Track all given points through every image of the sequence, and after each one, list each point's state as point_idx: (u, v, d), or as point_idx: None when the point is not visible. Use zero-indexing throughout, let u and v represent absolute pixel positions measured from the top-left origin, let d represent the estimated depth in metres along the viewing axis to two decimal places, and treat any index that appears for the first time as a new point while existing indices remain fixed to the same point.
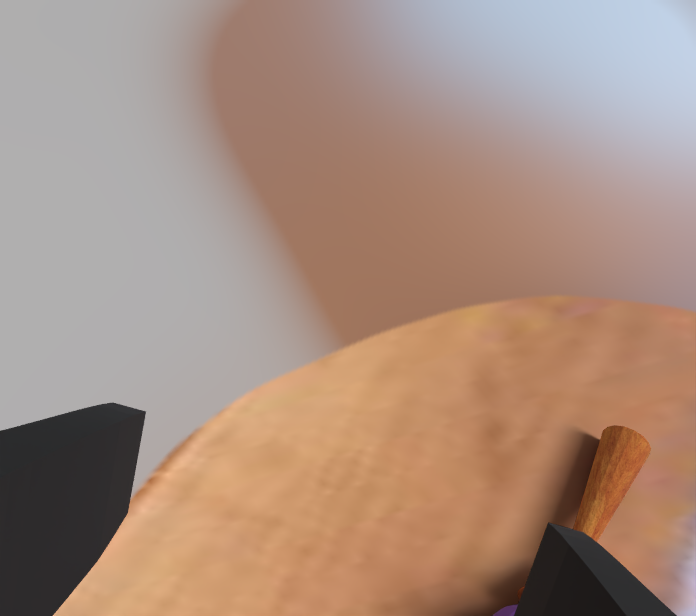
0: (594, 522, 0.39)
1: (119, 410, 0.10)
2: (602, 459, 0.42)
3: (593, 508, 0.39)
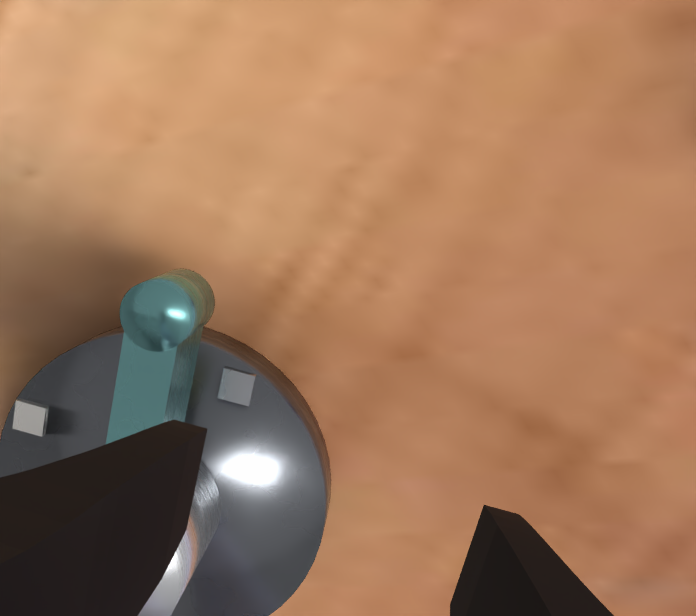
0: None
1: (184, 428, 0.10)
2: None
3: None
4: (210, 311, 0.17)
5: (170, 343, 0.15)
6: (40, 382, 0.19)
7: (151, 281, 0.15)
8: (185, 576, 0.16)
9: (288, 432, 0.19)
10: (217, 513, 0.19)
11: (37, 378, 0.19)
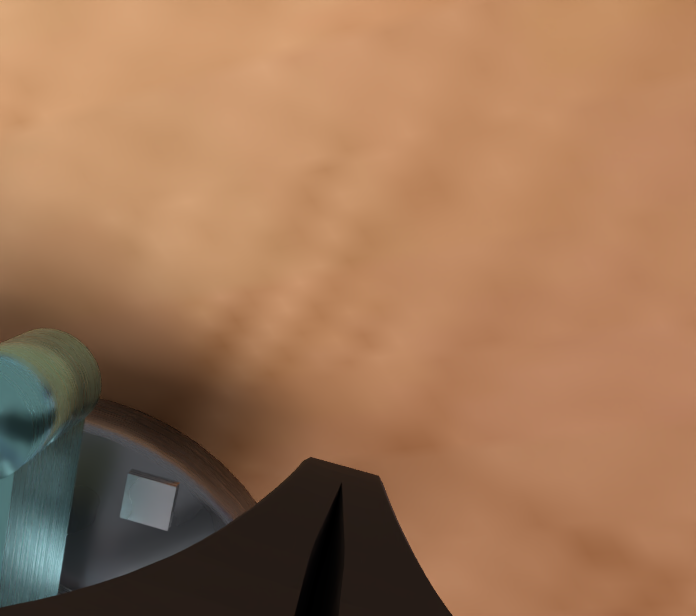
0: None
1: (327, 467, 0.10)
2: None
3: None
4: (91, 398, 0.10)
5: (1, 468, 0.09)
6: None
7: None
8: None
9: None
10: None
11: None
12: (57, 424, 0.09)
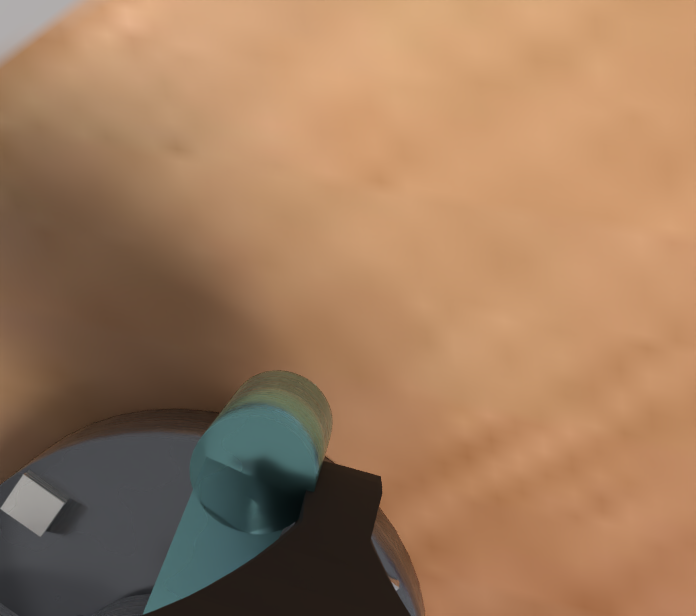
0: None
1: (365, 478, 0.10)
2: None
3: None
4: None
5: (271, 523, 0.09)
6: (71, 462, 0.12)
7: (258, 416, 0.08)
8: None
9: None
10: None
11: (69, 454, 0.12)
12: None
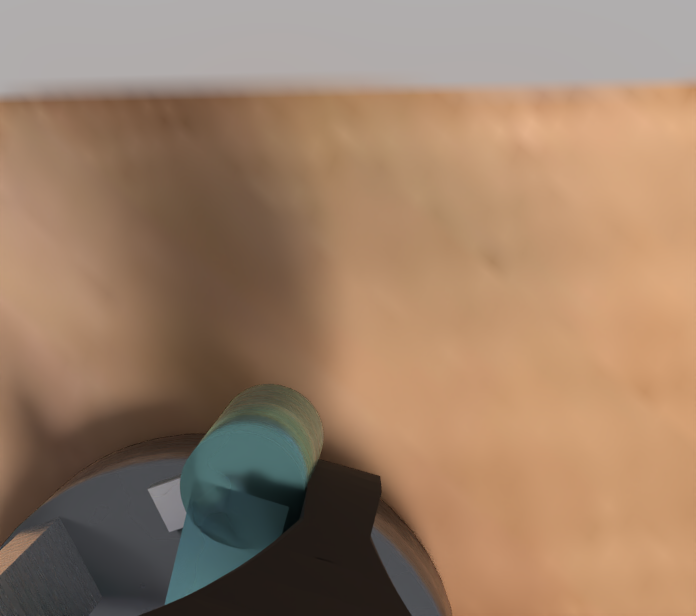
0: None
1: (364, 478, 0.10)
2: None
3: None
4: (319, 456, 0.10)
5: (267, 536, 0.09)
6: None
7: (239, 431, 0.08)
8: None
9: None
10: None
11: None
12: None
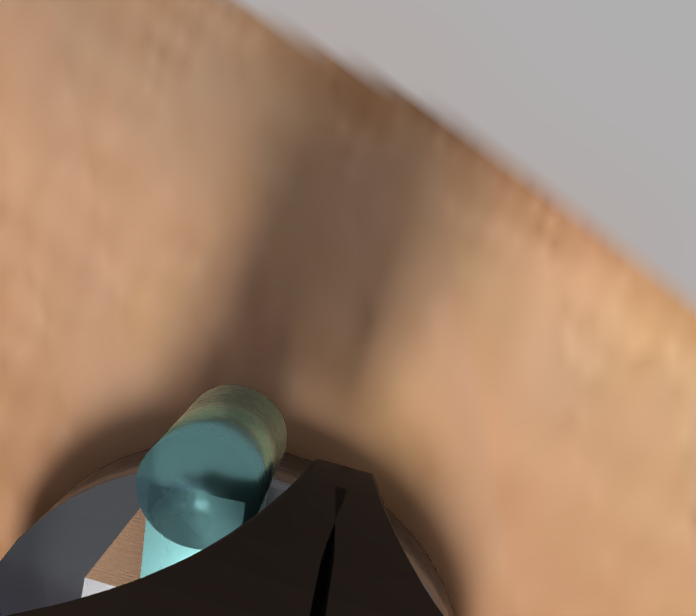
0: None
1: (335, 470, 0.10)
2: None
3: None
4: (282, 451, 0.10)
5: None
6: None
7: (187, 432, 0.08)
8: None
9: None
10: None
11: None
12: (269, 484, 0.09)
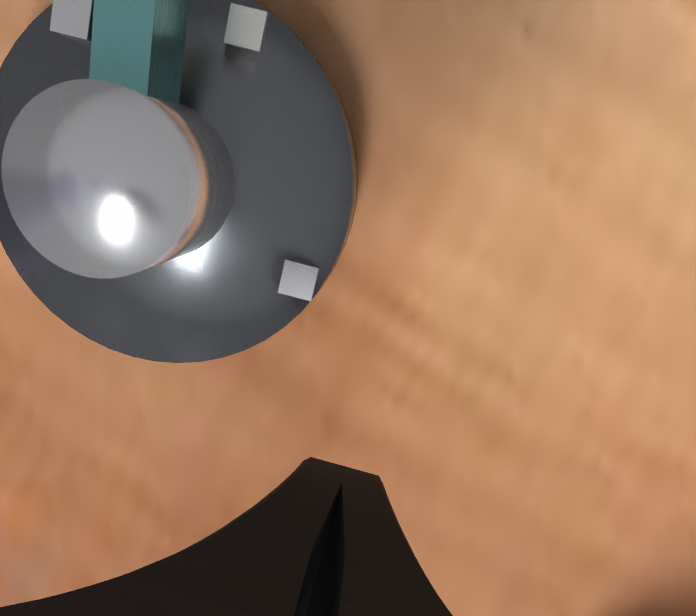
0: None
1: (327, 467, 0.10)
2: None
3: None
4: None
5: None
6: (289, 44, 0.16)
7: None
8: (196, 186, 0.14)
9: (250, 329, 0.18)
10: (230, 176, 0.17)
11: (295, 40, 0.16)
12: None
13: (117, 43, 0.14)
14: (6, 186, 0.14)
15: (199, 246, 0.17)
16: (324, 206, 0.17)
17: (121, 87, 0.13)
